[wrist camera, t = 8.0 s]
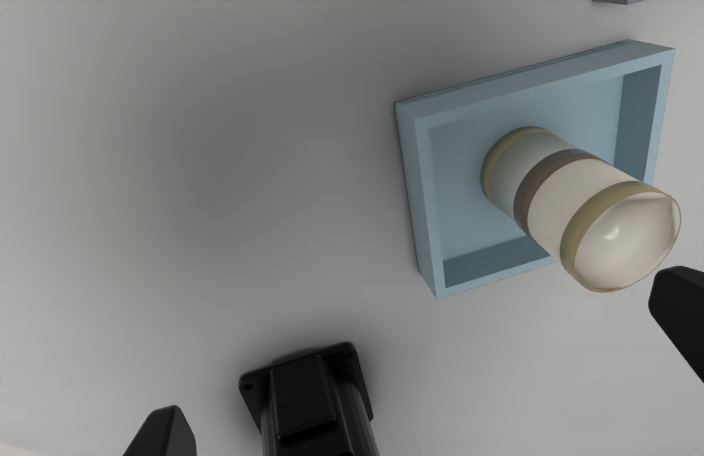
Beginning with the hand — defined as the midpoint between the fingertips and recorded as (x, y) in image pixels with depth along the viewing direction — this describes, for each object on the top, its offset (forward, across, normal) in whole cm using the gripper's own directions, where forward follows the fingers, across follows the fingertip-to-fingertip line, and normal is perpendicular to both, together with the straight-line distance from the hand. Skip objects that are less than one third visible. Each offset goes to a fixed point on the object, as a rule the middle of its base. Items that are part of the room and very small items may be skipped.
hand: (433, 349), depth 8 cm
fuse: (+12, -9, +4) cm, 16 cm away
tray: (+13, -9, +4) cm, 16 cm away
